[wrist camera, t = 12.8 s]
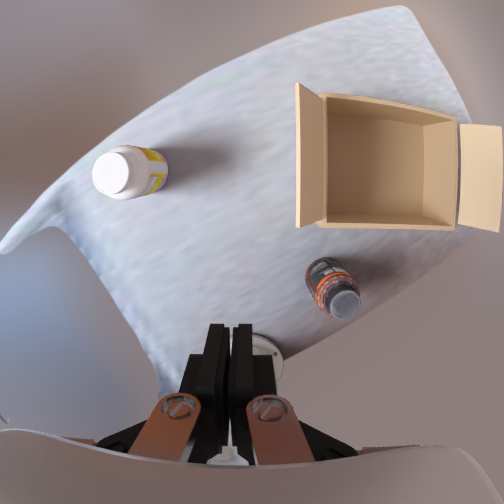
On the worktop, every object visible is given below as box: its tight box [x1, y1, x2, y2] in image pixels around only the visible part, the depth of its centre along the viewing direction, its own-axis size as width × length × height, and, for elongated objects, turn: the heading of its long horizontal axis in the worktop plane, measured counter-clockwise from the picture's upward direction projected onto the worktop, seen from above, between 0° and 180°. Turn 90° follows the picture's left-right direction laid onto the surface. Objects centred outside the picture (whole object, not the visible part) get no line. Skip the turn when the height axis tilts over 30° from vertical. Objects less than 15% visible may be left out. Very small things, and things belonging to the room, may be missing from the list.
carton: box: [314, 92, 458, 231], centre depth 36 cm, size 16×20×9 cm
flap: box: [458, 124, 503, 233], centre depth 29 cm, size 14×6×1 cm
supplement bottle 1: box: [92, 145, 168, 200], centre depth 34 cm, size 7×7×13 cm
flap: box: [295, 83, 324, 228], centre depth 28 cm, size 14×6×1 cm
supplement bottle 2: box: [305, 258, 361, 320], centre depth 39 cm, size 6×6×11 cm
